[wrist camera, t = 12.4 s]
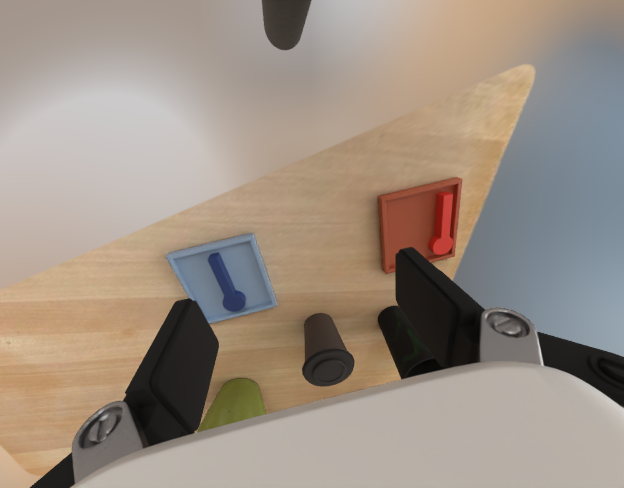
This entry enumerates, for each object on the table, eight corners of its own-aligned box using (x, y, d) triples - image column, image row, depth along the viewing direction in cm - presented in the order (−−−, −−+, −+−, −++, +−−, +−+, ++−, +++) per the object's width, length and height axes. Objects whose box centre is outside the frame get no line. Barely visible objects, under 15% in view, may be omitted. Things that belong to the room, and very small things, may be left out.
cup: (392, 336, 48) (427, 395, 37) (364, 324, 45) (392, 385, 34) (418, 309, 45) (462, 364, 35) (389, 295, 43) (428, 350, 32)
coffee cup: (347, 313, 43) (366, 360, 34) (328, 343, 46) (341, 395, 37) (308, 302, 41) (317, 350, 32) (289, 335, 43) (294, 388, 34)
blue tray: (168, 252, 33) (165, 256, 32) (253, 232, 34) (252, 235, 33) (205, 320, 39) (204, 325, 38) (277, 301, 40) (277, 306, 38)
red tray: (377, 196, 34) (381, 198, 33) (456, 177, 35) (462, 178, 33) (382, 270, 40) (385, 274, 39) (450, 253, 40) (454, 256, 39)
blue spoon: (202, 256, 34) (199, 261, 32) (226, 250, 34) (224, 255, 32) (228, 309, 38) (226, 316, 37) (248, 304, 38) (247, 310, 37)
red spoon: (430, 194, 35) (437, 197, 33) (452, 189, 35) (459, 192, 33) (428, 253, 39) (434, 258, 38) (447, 249, 40) (453, 253, 38)
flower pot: (194, 409, 48) (161, 525, 34) (207, 360, 43) (175, 474, 29) (265, 413, 53) (262, 518, 38) (285, 369, 47) (290, 472, 33)
